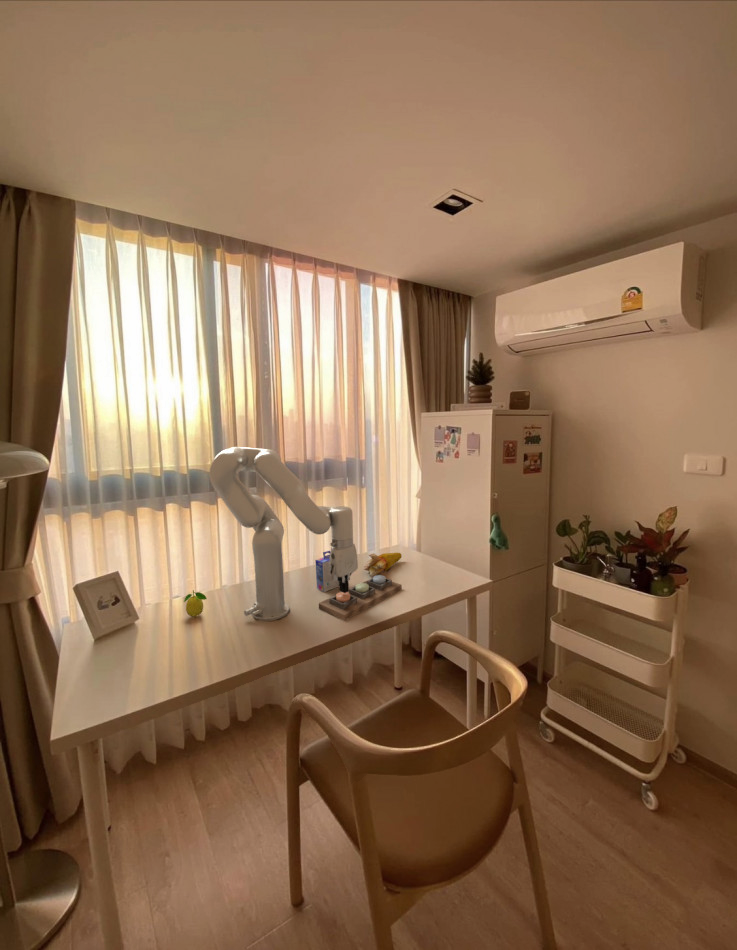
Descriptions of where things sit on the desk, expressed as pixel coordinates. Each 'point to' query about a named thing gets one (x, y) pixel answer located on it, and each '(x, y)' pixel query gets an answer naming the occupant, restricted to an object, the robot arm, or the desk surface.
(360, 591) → the button sage
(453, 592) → the desk surface
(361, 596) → the button panel
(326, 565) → the ink cartridge box
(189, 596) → the lemon
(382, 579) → the button slate
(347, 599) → the button terracotta
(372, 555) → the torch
